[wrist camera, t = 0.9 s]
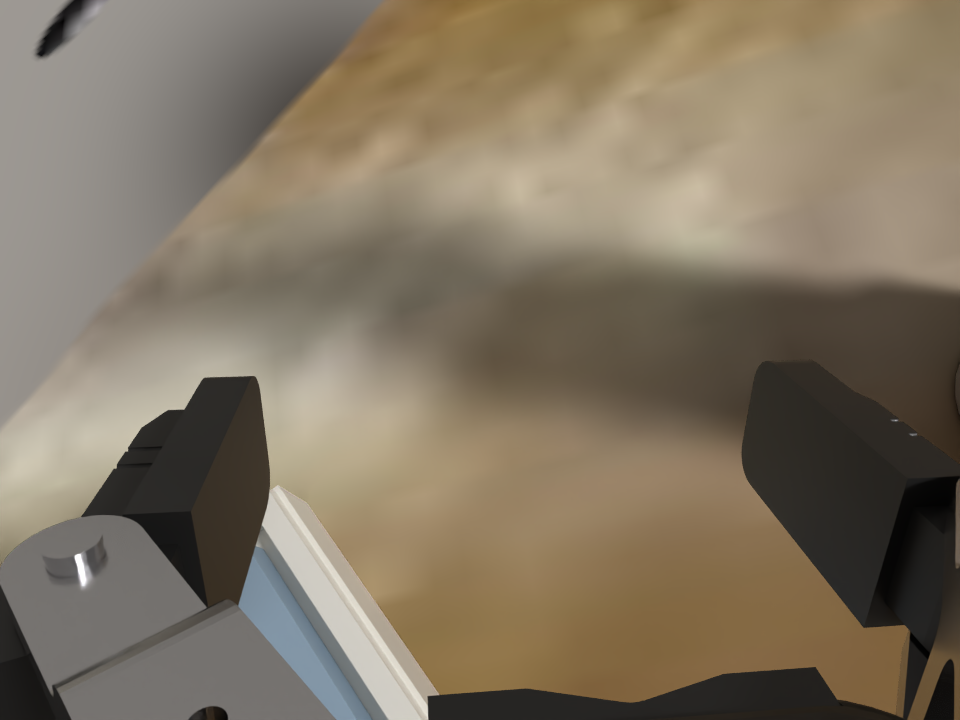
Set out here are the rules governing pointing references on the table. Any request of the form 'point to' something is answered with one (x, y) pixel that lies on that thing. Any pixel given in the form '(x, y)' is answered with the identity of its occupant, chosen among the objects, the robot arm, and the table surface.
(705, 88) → the table surface
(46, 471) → the table surface
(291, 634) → the snap cover
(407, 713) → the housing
